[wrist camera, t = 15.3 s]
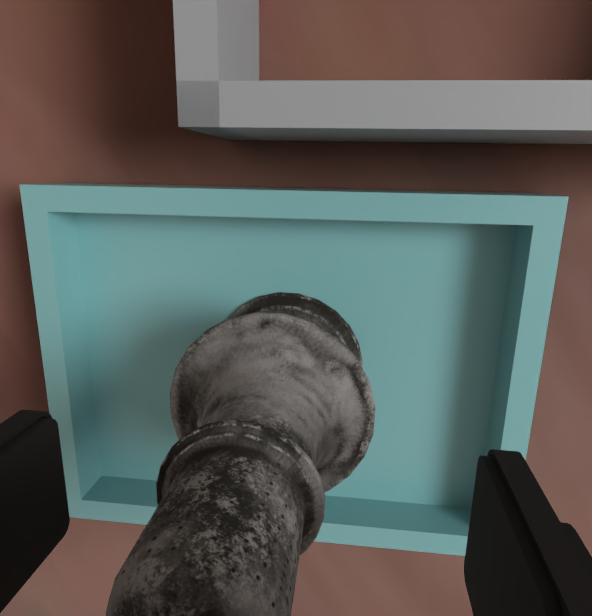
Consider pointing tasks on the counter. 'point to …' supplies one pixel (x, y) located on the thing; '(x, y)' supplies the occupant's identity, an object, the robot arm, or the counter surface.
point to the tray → (314, 283)
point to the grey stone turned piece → (250, 461)
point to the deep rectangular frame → (353, 95)
